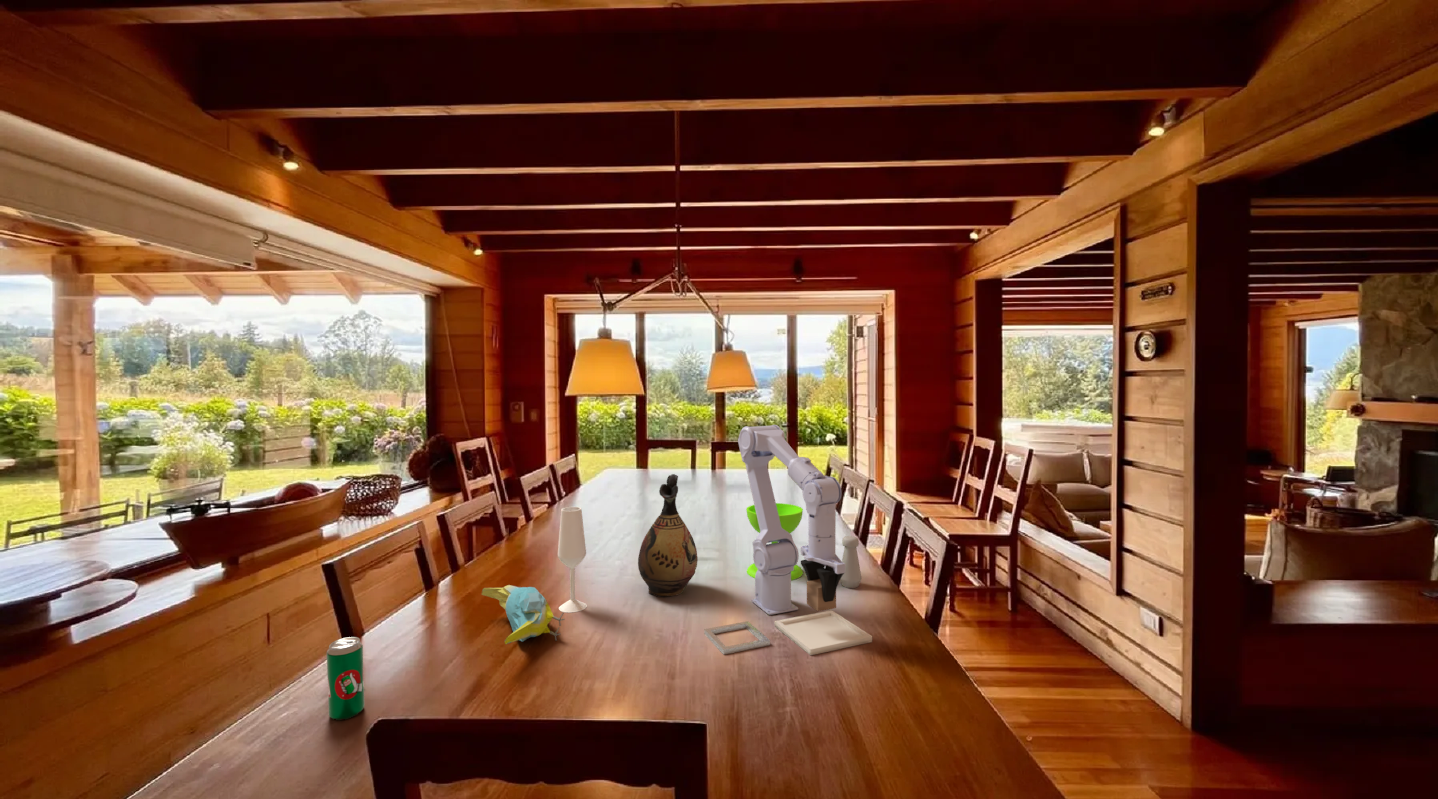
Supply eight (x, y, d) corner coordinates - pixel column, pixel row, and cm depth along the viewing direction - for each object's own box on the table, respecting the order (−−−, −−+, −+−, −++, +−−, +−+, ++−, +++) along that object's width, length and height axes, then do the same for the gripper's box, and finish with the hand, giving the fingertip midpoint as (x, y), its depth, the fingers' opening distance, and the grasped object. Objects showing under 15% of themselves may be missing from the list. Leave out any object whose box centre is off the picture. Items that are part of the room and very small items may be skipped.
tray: (774, 626, 132) (774, 621, 132) (831, 615, 138) (831, 610, 138) (810, 655, 118) (810, 649, 118) (872, 641, 124) (872, 636, 124)
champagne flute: (575, 599, 148) (574, 504, 147) (592, 606, 144) (591, 508, 143) (552, 607, 143) (551, 509, 142) (569, 614, 139) (568, 513, 138)
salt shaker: (861, 590, 154) (862, 540, 153) (839, 588, 155) (839, 539, 154) (861, 582, 159) (861, 534, 159) (839, 581, 160) (839, 533, 160)
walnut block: (806, 603, 129) (806, 581, 128) (824, 600, 130) (824, 578, 130) (818, 611, 125) (818, 587, 124) (836, 608, 126) (836, 584, 126)
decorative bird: (543, 606, 144) (542, 569, 144) (578, 657, 118) (577, 611, 118) (482, 618, 137) (481, 579, 137) (505, 674, 111) (504, 626, 111)
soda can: (339, 705, 101) (337, 636, 101) (370, 703, 101) (368, 635, 101) (322, 722, 96) (319, 650, 95) (354, 721, 96) (352, 648, 96)
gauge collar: (704, 633, 128) (704, 629, 128) (748, 625, 132) (748, 621, 132) (723, 654, 119) (723, 649, 118) (770, 645, 123) (770, 640, 123)
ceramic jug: (696, 601, 146) (695, 481, 145) (633, 601, 147) (632, 481, 146) (699, 578, 163) (698, 470, 162) (644, 578, 164) (642, 470, 163)
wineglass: (740, 578, 163) (740, 513, 162) (753, 560, 178) (753, 501, 178) (798, 584, 159) (798, 517, 158) (806, 565, 174) (806, 504, 173)
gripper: (788, 528, 132) (788, 588, 133) (824, 545, 119) (824, 611, 119) (815, 525, 135) (815, 583, 135) (854, 541, 121) (853, 606, 122)
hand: (821, 596), depth 127 cm, fingers closed on walnut block, 4 cm apart
